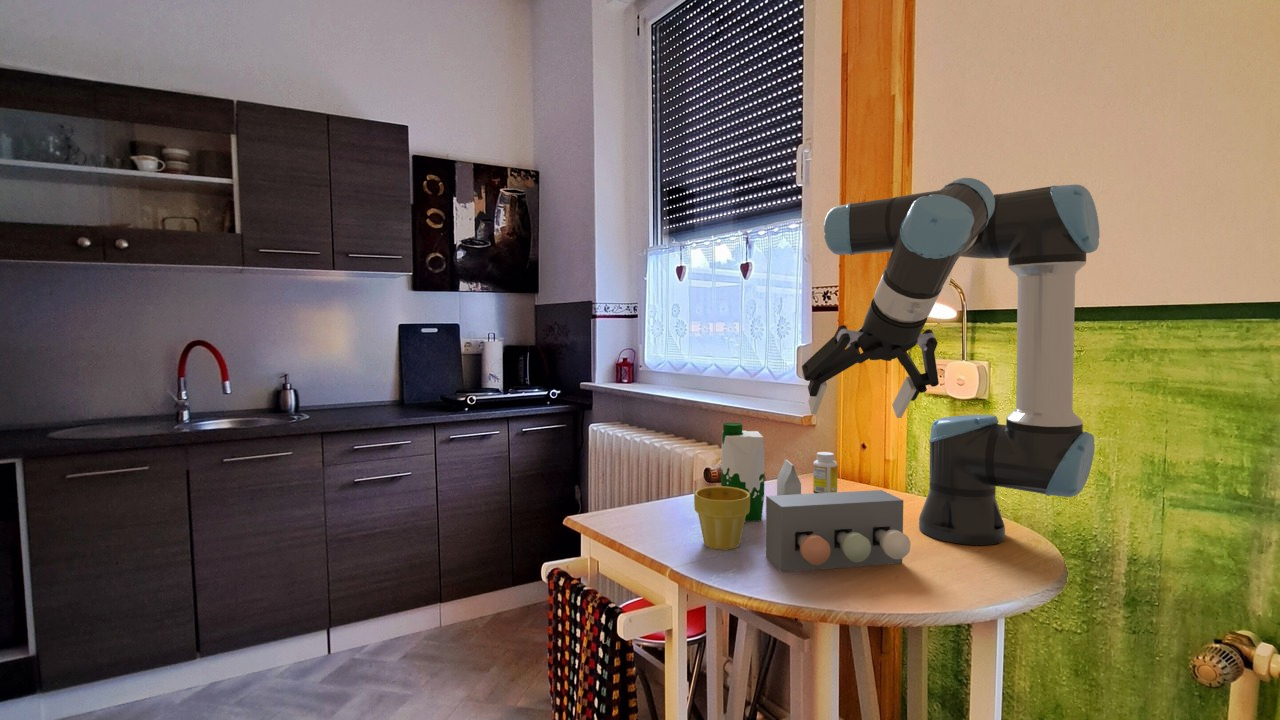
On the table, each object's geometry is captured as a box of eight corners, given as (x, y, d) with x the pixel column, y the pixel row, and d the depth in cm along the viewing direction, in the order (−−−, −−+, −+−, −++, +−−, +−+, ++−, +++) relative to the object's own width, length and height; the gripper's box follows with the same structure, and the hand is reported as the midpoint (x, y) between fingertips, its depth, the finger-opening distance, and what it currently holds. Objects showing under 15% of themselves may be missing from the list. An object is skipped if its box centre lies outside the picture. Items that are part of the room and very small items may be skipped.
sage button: (853, 549, 111) (853, 523, 110) (870, 561, 105) (871, 534, 105) (828, 550, 110) (829, 525, 110) (845, 563, 104) (845, 536, 104)
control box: (880, 549, 118) (881, 490, 118) (902, 563, 111) (903, 500, 111) (765, 557, 115) (766, 495, 114) (781, 572, 108) (781, 506, 107)
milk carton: (719, 510, 144) (719, 421, 143) (760, 510, 143) (760, 421, 142) (723, 522, 135) (723, 427, 134) (767, 522, 135) (767, 427, 134)
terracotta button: (814, 551, 109) (814, 526, 109) (830, 564, 104) (830, 537, 103) (789, 553, 109) (790, 527, 108) (804, 566, 103) (804, 538, 103)
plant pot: (747, 555, 116) (748, 501, 115) (690, 551, 118) (690, 498, 117) (751, 537, 126) (751, 487, 125) (698, 533, 128) (698, 484, 127)
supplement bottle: (834, 492, 159) (835, 451, 158) (839, 498, 153) (839, 455, 153) (811, 492, 159) (811, 450, 159) (815, 498, 154) (815, 455, 153)
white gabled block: (784, 510, 144) (784, 465, 143) (777, 502, 150) (777, 459, 150) (800, 510, 144) (801, 465, 143) (792, 502, 151) (793, 459, 150)
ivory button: (890, 546, 112) (891, 521, 111) (910, 558, 106) (910, 531, 106) (867, 548, 111) (867, 522, 111) (885, 560, 105) (885, 533, 105)
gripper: (814, 320, 85) (780, 424, 100) (1001, 329, 86) (939, 431, 101) (804, 284, 90) (773, 388, 105) (980, 294, 91) (924, 395, 106)
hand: (854, 409), depth 103 cm, fingers open, 13 cm apart
